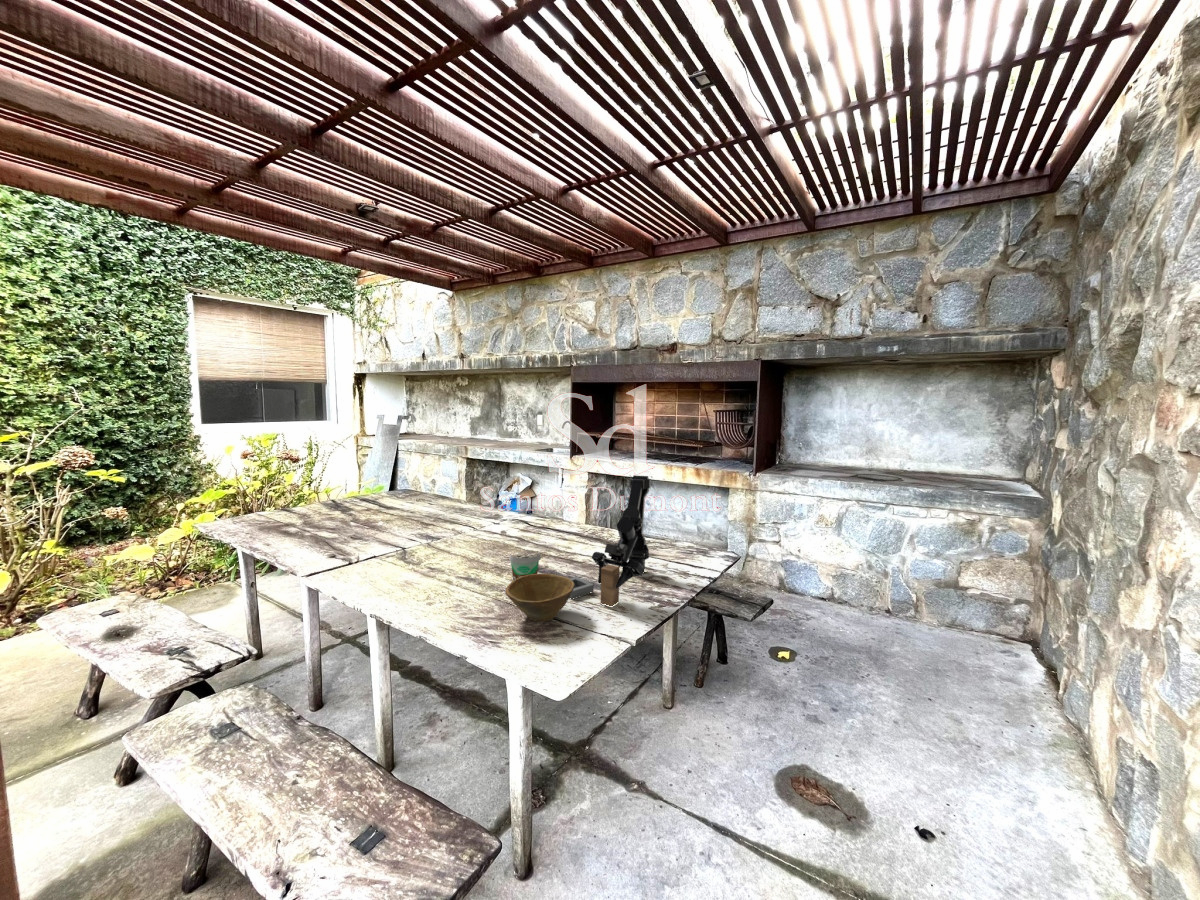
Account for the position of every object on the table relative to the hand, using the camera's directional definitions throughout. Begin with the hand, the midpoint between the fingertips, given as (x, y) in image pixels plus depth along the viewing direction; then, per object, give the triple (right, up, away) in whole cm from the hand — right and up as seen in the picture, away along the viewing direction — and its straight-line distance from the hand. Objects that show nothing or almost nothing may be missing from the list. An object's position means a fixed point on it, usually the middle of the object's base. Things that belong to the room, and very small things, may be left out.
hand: (607, 585), depth 168 cm
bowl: (-22, -8, -7) cm, 24 cm away
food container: (-31, -4, +22) cm, 38 cm away
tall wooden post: (+1, -7, +2) cm, 7 cm away
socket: (-12, -6, +12) cm, 18 cm away
